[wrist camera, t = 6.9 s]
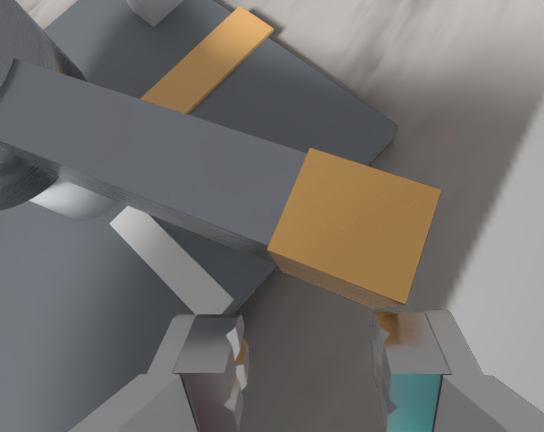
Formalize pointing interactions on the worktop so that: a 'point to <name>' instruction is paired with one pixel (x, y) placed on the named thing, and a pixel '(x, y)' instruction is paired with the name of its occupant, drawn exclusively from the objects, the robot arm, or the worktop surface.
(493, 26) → the worktop surface
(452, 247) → the worktop surface
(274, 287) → the worktop surface
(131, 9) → the board
